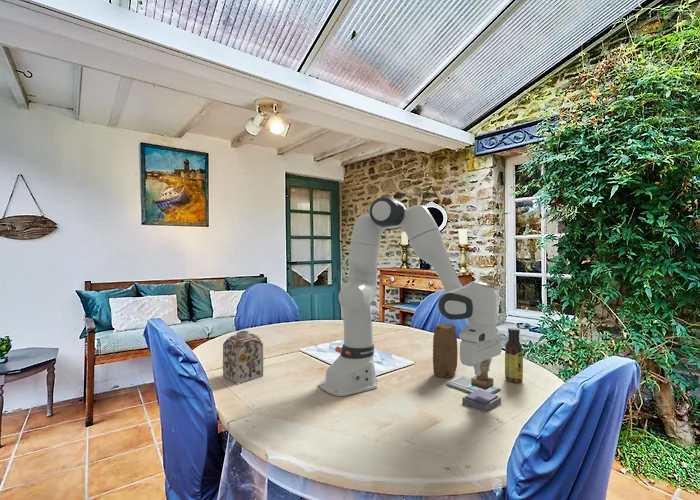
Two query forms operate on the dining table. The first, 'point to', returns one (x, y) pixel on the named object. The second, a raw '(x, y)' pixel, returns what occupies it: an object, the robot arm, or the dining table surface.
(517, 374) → the sauce bottle
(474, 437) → the dining table surface
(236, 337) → the decorative jar
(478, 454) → the dining table surface
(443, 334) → the block
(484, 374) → the stamp
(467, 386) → the board
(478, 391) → the ink pad
